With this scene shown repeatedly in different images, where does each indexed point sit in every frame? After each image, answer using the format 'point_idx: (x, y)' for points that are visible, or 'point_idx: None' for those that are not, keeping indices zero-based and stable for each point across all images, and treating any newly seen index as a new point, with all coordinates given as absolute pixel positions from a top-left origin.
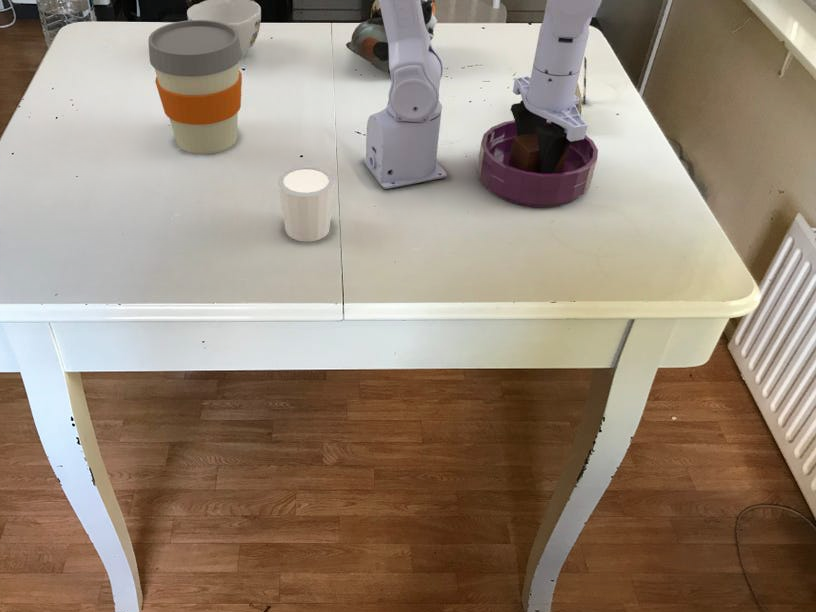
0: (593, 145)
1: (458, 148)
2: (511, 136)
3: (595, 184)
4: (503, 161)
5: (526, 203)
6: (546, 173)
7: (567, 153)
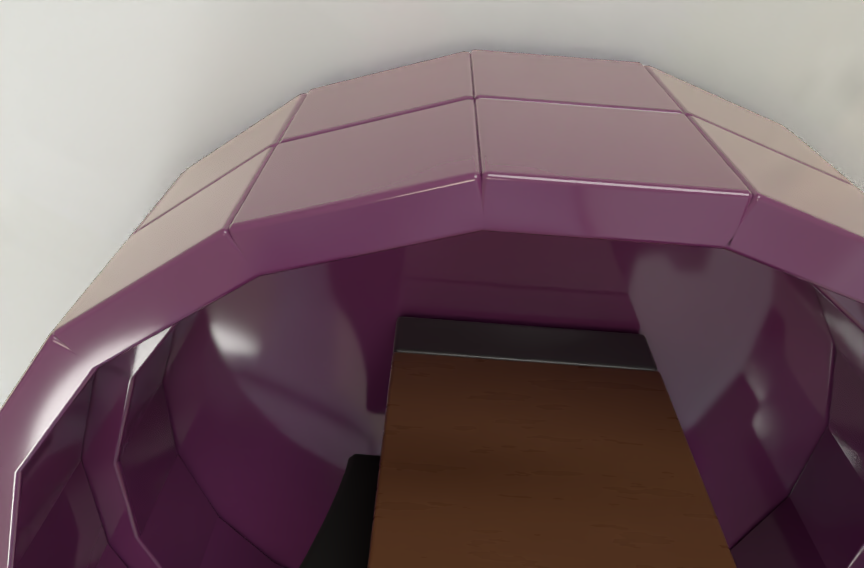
0: (847, 265)
1: None
2: (99, 499)
3: (814, 67)
4: (282, 496)
5: None
6: None
7: (711, 505)
